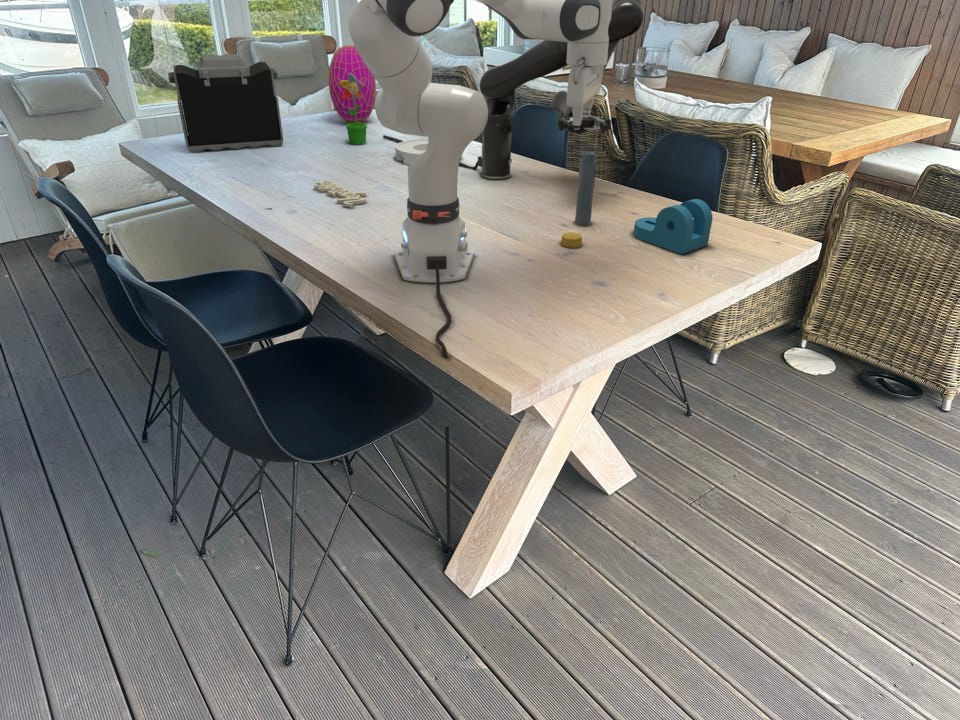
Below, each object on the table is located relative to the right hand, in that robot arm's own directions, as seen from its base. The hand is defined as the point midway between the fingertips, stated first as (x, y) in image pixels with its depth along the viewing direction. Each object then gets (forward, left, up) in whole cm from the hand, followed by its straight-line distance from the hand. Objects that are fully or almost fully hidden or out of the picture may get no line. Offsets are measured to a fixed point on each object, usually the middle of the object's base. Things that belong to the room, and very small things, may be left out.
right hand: (588, 128), depth 185 cm
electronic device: (-121, -75, -22) cm, 144 cm away
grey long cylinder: (+10, -6, -22) cm, 25 cm away
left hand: (+22, -18, +7) cm, 29 cm away
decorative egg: (-138, -23, -22) cm, 142 cm away
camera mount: (+30, +6, -22) cm, 37 cm away
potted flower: (-103, -33, -22) cm, 110 cm away
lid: (+22, -18, -21) cm, 35 cm away
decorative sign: (-42, -58, -22) cm, 75 cm away
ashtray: (-71, -17, -22) cm, 77 cm away
